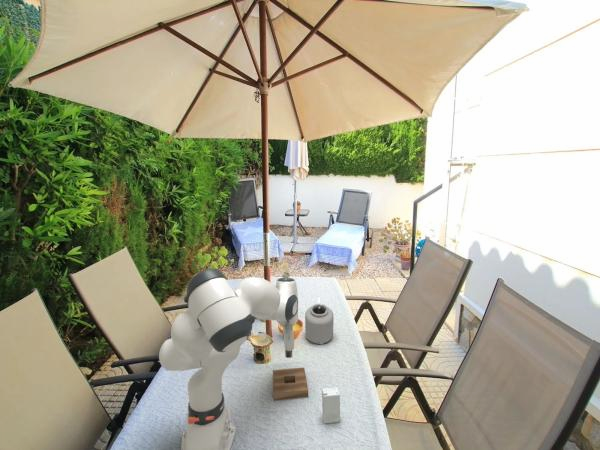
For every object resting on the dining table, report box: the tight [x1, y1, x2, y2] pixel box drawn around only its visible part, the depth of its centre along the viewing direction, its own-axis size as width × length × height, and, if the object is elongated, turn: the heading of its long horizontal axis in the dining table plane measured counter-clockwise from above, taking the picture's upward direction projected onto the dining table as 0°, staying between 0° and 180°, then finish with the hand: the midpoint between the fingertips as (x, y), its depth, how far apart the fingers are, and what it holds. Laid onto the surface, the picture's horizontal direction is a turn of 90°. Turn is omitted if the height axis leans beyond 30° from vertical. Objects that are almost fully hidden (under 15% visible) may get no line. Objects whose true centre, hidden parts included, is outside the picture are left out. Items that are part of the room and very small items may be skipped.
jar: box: [304, 297, 335, 349], centre depth 168 cm, size 19×15×25 cm
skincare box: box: [321, 386, 341, 424], centre depth 119 cm, size 6×4×12 cm
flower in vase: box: [279, 261, 291, 278], centre depth 223 cm, size 13×11×25 cm
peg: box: [284, 349, 293, 359], centre depth 133 cm, size 3×3×10 cm
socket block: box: [272, 367, 309, 401], centre depth 137 cm, size 14×14×4 cm
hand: (288, 346), depth 133 cm, fingers closed on peg, 3 cm apart
